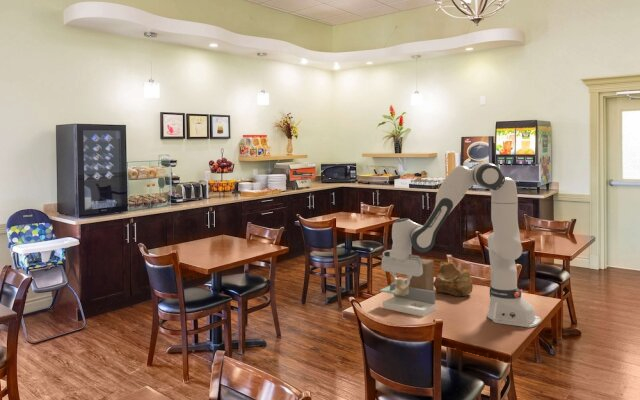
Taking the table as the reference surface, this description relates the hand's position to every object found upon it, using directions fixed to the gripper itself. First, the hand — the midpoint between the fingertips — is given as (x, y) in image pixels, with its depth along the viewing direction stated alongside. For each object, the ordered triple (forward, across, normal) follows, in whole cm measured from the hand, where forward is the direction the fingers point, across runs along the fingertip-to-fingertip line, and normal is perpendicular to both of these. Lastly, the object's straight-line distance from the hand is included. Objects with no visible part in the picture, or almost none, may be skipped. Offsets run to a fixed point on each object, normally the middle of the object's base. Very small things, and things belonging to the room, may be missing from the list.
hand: (401, 282), depth 228 cm
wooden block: (+16, +6, -29) cm, 34 cm away
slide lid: (+8, +11, -10) cm, 17 cm away
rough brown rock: (+16, -1, -47) cm, 50 cm away
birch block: (+5, 0, 0) cm, 5 cm away
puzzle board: (+16, +3, -11) cm, 20 cm away
